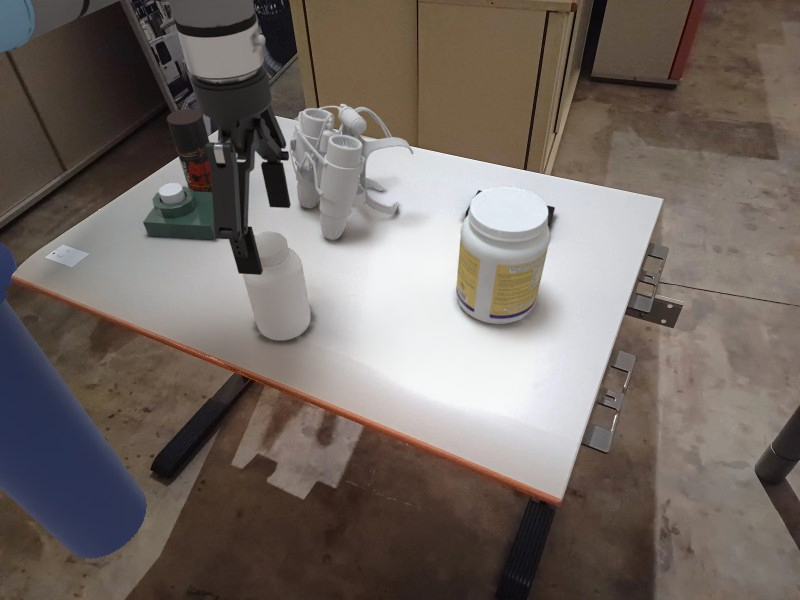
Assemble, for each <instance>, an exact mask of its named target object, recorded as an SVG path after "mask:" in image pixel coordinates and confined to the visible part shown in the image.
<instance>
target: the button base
mask: <svg viewBox="0 0 800 600" xmlns="http://www.w3.org/2000/svg"><path fill="white" fill-rule="evenodd" d="M182 187H183V190H184V193H185V196H186V198H185V200H183V201H182V202H180V203H177V204H173V205H167V204H164V203H163V202H162V200H161V197H160V195H159V191H158V192H156V193H155V195H154V196H153V198H152V199H151V200H152V205H153V207H152V209H151V210H150V212H149V213H148V215H147V216H146V217H145V219H144V220H143V222H142V223H143V226H144V228H145V230H146V233H147V235H148V237H159V238H160V237H162V238H177V239H179V238H180V239H195V240H211V241H215V240H216V239H217V238H216V237H215V227H214V213H213V199H212V192H198V191H193V190H192V189H190V188H189V187H188V186H183V185H182Z"/></svg>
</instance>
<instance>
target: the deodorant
mask: <svg viewBox="0 0 800 600" xmlns="http://www.w3.org/2000/svg"><path fill="white" fill-rule="evenodd" d="M166 121H167V125H168V127H169V131H170V135H171V138H172V140H173V144H174V146H175V150H176V153H177V155H178V159H179V162H180V165H181V168H182V172H183V174H184V177H185V181H186V184H187V187H188V188H190V189H192V190H193V191H198V192H212V185H211V171H210V164H209V159H208V155H207V150H206V145H207V143H208V142H210V138H209V134H208V132H207V126H206V123H205V120H204V116H203V113H202V112H201V111H200V109H196V108H182V109H178V110H175V111H173V112H170V113H169V114H168V116H167V117H166Z"/></svg>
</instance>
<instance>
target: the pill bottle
mask: <svg viewBox="0 0 800 600" xmlns="http://www.w3.org/2000/svg"><path fill="white" fill-rule="evenodd" d="M254 237H255V241H256V245H257V249H258V253H259V257H260V261H261V265H262V269H263V272H262V274H261V275H254V274H242V277H243V281H244V285H245V288H246V292H247V296H248V298H249V302H250V307H251V309H252V314H253V317H254V320H255V324H256V327H257V329H258V331H259V333H260V334H261V335H262V336H263V337H265V338H267V339H269V340H273V341H280V342H281V341H283V342H284V341H288V340H293V339H295V338H297V337H299V336H301V335H302V334H303V333H305V331H306V330H307V329H308V327H309V326H310V323H311V319H312V315H311V314H312V313H311V307H310V301H309V296H308V290H307V283H306V279H305V273H304V267H303V262H302V259H301V257H300V256H299V254H298V253H297V252H296V250H294V249H292V248H290V247H289V244H288V240H287V238H286V236H285V235H283V234H282V233H280V232H276V231H263V232H259V233H257V234H254Z"/></svg>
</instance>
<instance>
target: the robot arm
mask: <svg viewBox="0 0 800 600" xmlns="http://www.w3.org/2000/svg"><path fill="white" fill-rule="evenodd" d="M119 1H121V0H0V53H7V52H12V51H14V50H16V49H18V48H21V47H22V46H23V45H25V44H26V43H28V42H29V41H32V40H33V39H35V38H39V37H40V36H42V35H46V34H47V33H49V32H51V31H54V30H55V29H58V28H60V27H62V26H64V25H66V24H69V23H70V22H72V21H76V20H78V19H81V18H83V17H85V16H88V15H91V14H93V13H94V12H97V11H99V10H102V9H104V8H106V7H108V6H111V5H113V4H115V3H117V2H119ZM151 1H153V2H163V3H164V2H165V3H166V2H168V5H169V8H170V10H171V14H172V19H173V21H174V24H175V27H176V31H177V35H178V39H179V43H180V46H181V51H182V53H183V57H184V62H185V65H186V69H187V72H189V73H190V74H191V78H190V82H191V85H192V89H193V92H194V96H195V99H196V104H197V106H198V110H199V111H200V112H201V113H202V115H204V116H205V117H207V118H209V119H210V120H213V122H214V123H216V125H217V142H213V141H209V142H208V143H207V145H206V150H207V155H208V159H209V164H210V171H211V185H212V199H213V213H214V227H215V237H216V238H215V239H218V240H228V242H229V245H230V248H231V251H232V254H233V258H234V261H235V262H234V263H235V265H236V268H237V273H238V274H241V275H243V274H254V275H261V274H262V272H263V269H262V265H261V261H260V257H259V253H258V249H257V245H256V241H255V237H254V236H255V234H254V230H253V229H254V228H253V226H249V209H250V208H249V206H250V177H251V172H253V171H254V170H255V164H256V163H255V162H256V160H255V159H256V154H258V156H259V157H260V158H261V159H262V160H263V161H262V162H261V163H260V168H261V172H262V176H263V177H262V178H263V181H264V186H265V191H266V196H267V200H268V204H269V207H270V208H280V209H290V208H291V205H292V204H291V199H290V193H289V189H288V182H287V177H286V172H285V166H284V162H285V161H290V151H289V150H288V151H287V150H284V149H286V147H287V142H286V141H287V140H286V139H285V135H284V134H283V131H282V129H281V126H280V124H279V121H278V119H277V117H276V115H275V113H274V112H275V111H274V110H273V107H272V105H271V104H272V99H273V97H272V91H271V85H270V81H269V76H268V70H267V68H266V67H265V66H264V65H263V64H264V62H265V58H264V51H263V46H265V44H266V37H265V36H264V34H261V33H260V31H259V30H260V29H259V24H258V19H257V14H256V8H255V6H254V5H255V3H254V0H151ZM283 161H284V162H283Z"/></svg>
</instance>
